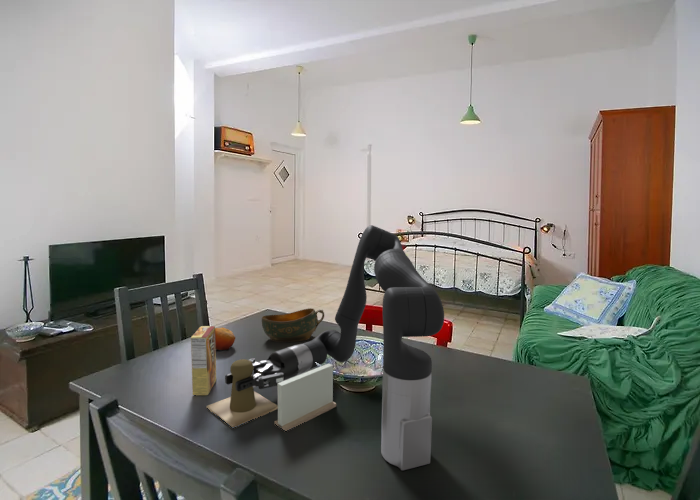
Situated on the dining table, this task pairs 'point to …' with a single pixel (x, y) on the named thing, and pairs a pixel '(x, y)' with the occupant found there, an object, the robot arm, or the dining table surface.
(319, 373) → the screen
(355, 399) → the dining table surface
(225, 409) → the board
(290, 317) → the green gravy boat
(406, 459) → the robot arm
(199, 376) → the candy box
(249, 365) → the pepper mill
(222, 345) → the fruit
